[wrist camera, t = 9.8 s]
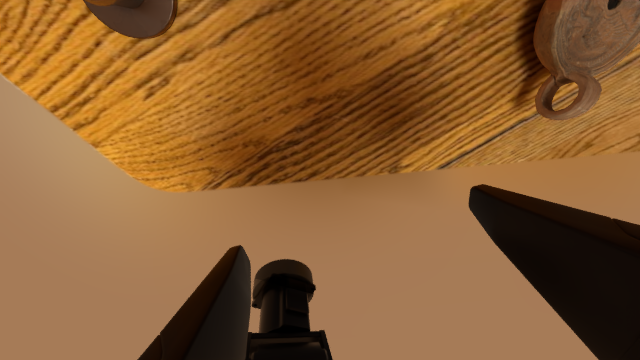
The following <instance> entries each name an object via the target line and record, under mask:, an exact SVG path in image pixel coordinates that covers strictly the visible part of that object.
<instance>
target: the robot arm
mask: <svg viewBox="0 0 640 360" xmlns="http://www.w3.org/2000/svg"><path fill="white" fill-rule="evenodd" d="M469 208H470V210H471V211H472V213H473V214H474V216H475V217H476V218H477V220H478V221H479V223H480V224H481V225H482V227H483V228H484V229H485V231H486V232H487V234H488V235H489V236H490V238H491V239H492V240H493V242H494V243H495V244H496V245H497V246H498V247H499V249H500V250H501V251H502V252H503V253H504V254H505V255H506V256H507V258H508V259H509V260H510V261H511V262H512V263H513V264H514V265H515V267H516V268H517V269H518V270H519V271H520V272H521V273H522V274H523V275H524V277H525V278H526V279H527V280H528V281H529V282H530V283H531V284H532V286H533V287H534V288H535V289H536V290H537V291H538V292H539V293H540V294H541V296H542V297H543V298H544V299H545V300H546V301H547V302H548V303H549V305H550V306H551V307H552V308H553V309H554V310H555V311H556V312H557V313H558V315H559V316H560V317H561V318H562V319H563V320H564V321H565V322H566V323H567V325H568V326H569V327H570V328H571V329H572V330H573V331H574V333H575V334H576V335H577V336H578V337H579V338H580V339H581V340H582V342H584V344H585V345H586V346H587V347H588V348H589V349H590V351H591V352H592V353H593V354H594V355H595V356H596V357H597V358H598V359H599V360H640V225H637V224H633V223H629V222H625V221H621V220H618V219H611V218H610V217H606V216H603V215H599V214H595V213H591V212H587V211H583V210H579V209H576V208H572V207H568V206H564V205H561V204H557V203H553V202H549V201H545V200H541V199H538V198H534V197H529V196H526V195H522V194H519V193H515V192H511V191H507V190H503V189H500V188H496V187H492V186H488V185H484V184H482V185H478V186H473V187H472V188H471V190H470V197H469ZM250 268H251V267H250V261H249V258H248V256H247V254H246V252H245V250H244V249H243V247H242V246H241V245H239V246H234V247H232V248H230V249H229V250H228V251H227V252H226V253H225V255H224V256H223V257H222V258H221V259H220V261H219V262H218V263H217V264H216V265H215V267H214V268H213V269H212V270H211V272H210V273H209V274H208V275H207V276H206V278H205V279H204V280H203V281H202V282H201V284H200V285H199V286H198V287H197V289H196V290H195V291H194V292H193V293H192V295H191V296H190V297H189V298H188V300H187V301H186V302H185V303H184V304H183V306H182V307H181V308H180V309H179V311H178V312H177V313H176V314H175V316H173V318H172V319H171V320H170V321H169V323H168V324H167V325H166V326H165V328H164V329H163V330H162V331H161V332H160V335H158V336H157V337H156V338H155V339H154V341H153V342H152V343H151V344H150V345H149V347H148V348H147V349H146V350H145V352H144V353H143V354H142V355H141V356H140V357H139V359H138V360H332V356H331V352H330V349H329V345H328V342H327V338H326V334H325V331H324V330H320V331H310V323H309V306H308V299H309V298H310V296H311V295H312V294H313V293H314V291H315V290H316V285H314V284H312V283H308V282H305V281H301V280H298V279H294V278H291V277H287V276H283V275H280V274H276V273H272V274H271V275H270V276H269V278H268V279H267V281H266V282H265V284H264V285H263V287H262V288H261V290H260V291H259V293H258V294H257V296H256V297H255V299H254V300H253V301H252V307H254V308H258V309H261V313H260V325H259V333H252V332H248V327H249V318H250V307H251V277H250V276H251V272H250V271H251V269H250Z"/></svg>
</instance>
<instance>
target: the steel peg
mask: <svg viewBox="0 0 640 360" xmlns="http://www.w3.org/2000/svg"><path fill="white" fill-rule="evenodd" d="M83 1H84V2H85V4H86V5H87V7H88V8H89V9H90V10H91V12H92V13H93V14H94V15H95V16H96V17H97V18H98V19H99V20H100V21H102V22H103V23H104V24H105V25H107V26H108V27H109V28H111V29H113V30H114V31H116V32H118V33H120V34H123V35H125V36H128V37H133V38H153V37H156V36H159V35H161V34H163V33H164V32H165V31H166V30H168V28H169V27H170V26H171V24H172V23H173V21H174V18H175V15H176V10H177V0H83Z"/></svg>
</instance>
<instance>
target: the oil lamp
mask: <svg viewBox="0 0 640 360" xmlns="http://www.w3.org/2000/svg"><path fill="white" fill-rule="evenodd" d="M533 42H534V48H535V51H536V54H537V56H538V58H539V60H540V62H541V63H542V64H543V66H544V67H545V68H547V69H548V70H549V71H550V73H551V76H550V77H549V78H548V79H547V80H546V81H545V82H544V83H543V84H542V86H541V87H540V89H539V91H538V93H537V96H536V98H535V104H536V109H537V111H538V113H539V114H540V115H542V116H543V117H545V118H549V119H554V120H568V119H571V118H575V117H579V116H580V115H582V114H584V113H586V112H587V111H589V110H590V109H591V108H592V107H593V106H594V105H595V104H596V102H597V101H598V99H599V97H600V94H601V90H602V89H601V85H600V83H599V82H598V81H597V80H596V79H595V78H594V76H597V75H599V74H602V73H604V72H606V71H608V70H609V69H611V68H612V67H614V66H615V65H617V64H618V62H620V61H622V60H623V59H624V58H625V57H626V56H627V55H628V54H629V53H630V52H631V51H632V50H633V49H634V48H635V47H636V46H637V45H638V44H639V43H640V0H546V1H545V2H544V4H543V6H542V8H541V10H540V13H539V16H538V19H537V22H536V26H535V31H534V38H533ZM572 82H575V83H576V84H577V85H578V87H579V93H578V96H577V98H576V99H575V100H574V102H573V103H572V104H571V105H569V106H568V107H566V108H565V109H561V110H558V111H554V110H553V109H552V100H553V97H554V95H555V93H556V92H557V90H558V89H559V88H560V87H561V86H563V85H565V84H568V83H572Z"/></svg>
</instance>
